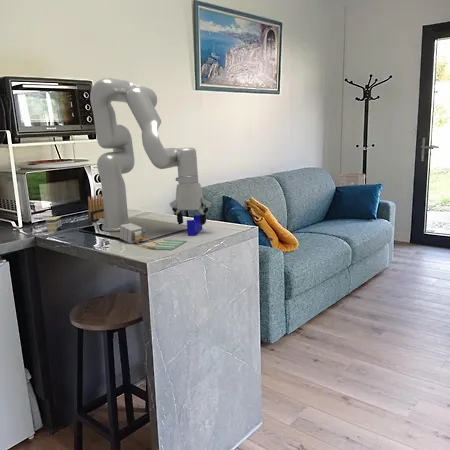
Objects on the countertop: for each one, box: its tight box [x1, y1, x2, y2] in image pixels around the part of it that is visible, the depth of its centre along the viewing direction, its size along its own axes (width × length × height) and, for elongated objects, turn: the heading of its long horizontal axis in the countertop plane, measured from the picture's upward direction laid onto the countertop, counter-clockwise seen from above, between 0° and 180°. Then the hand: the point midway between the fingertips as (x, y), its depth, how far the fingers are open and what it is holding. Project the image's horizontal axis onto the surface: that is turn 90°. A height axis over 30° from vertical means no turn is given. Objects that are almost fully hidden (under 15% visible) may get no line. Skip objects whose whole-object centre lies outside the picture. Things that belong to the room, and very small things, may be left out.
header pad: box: [146, 239, 188, 251], centre depth 161 cm, size 10×12×1 cm
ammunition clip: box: [87, 193, 105, 224], centre depth 209 cm, size 11×2×12 cm, turn 150°
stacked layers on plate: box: [45, 216, 63, 233], centre depth 192 cm, size 10×9×6 cm
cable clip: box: [186, 214, 203, 237], centre depth 178 cm, size 12×4×6 cm, turn 170°
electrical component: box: [119, 222, 163, 250], centre depth 163 cm, size 24×6×5 cm, turn 48°
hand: (191, 224), depth 178 cm, fingers open, 9 cm apart
